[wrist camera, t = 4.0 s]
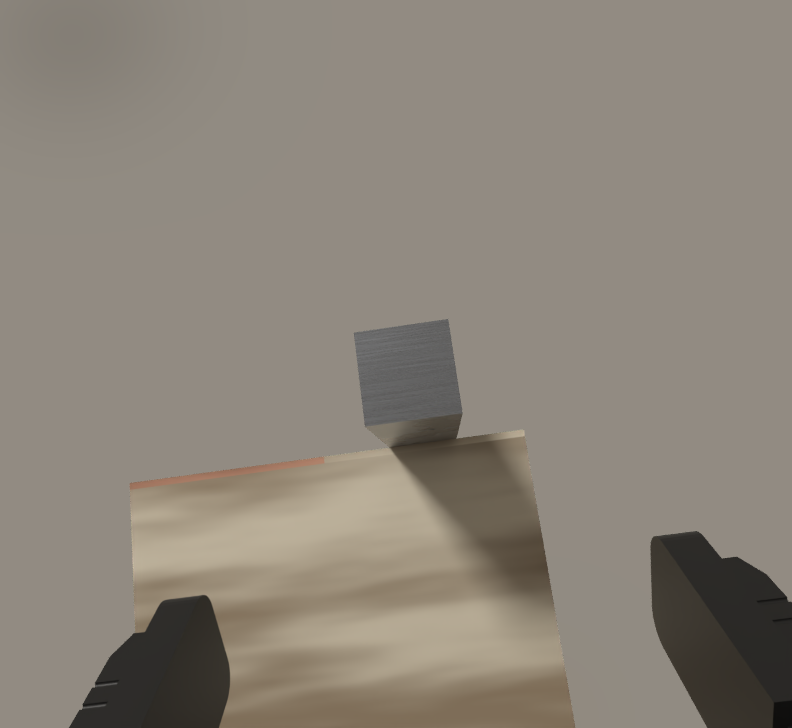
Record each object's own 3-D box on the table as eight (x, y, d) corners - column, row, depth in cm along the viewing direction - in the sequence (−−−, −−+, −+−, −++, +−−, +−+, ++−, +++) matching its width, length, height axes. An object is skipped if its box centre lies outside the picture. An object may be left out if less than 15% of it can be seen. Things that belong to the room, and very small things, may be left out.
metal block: (462, 413, 19) (448, 319, 20) (364, 426, 19) (353, 332, 20) (452, 455, 40) (445, 410, 41) (406, 462, 41) (400, 416, 41)
